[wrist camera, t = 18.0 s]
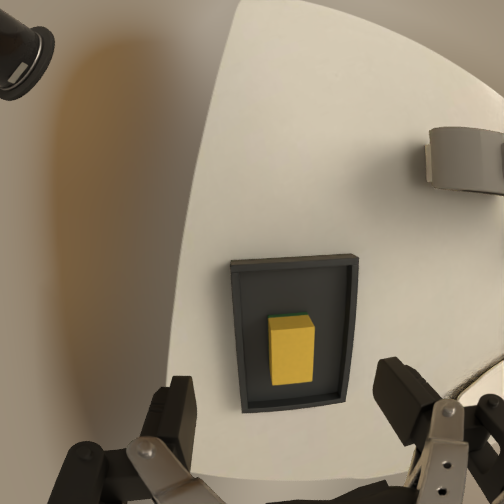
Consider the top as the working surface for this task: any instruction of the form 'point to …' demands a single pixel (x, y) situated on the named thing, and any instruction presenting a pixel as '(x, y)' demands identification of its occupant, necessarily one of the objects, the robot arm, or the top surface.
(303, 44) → the top surface
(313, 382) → the tray
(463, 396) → the plate
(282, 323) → the sponge
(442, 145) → the alarm clock
